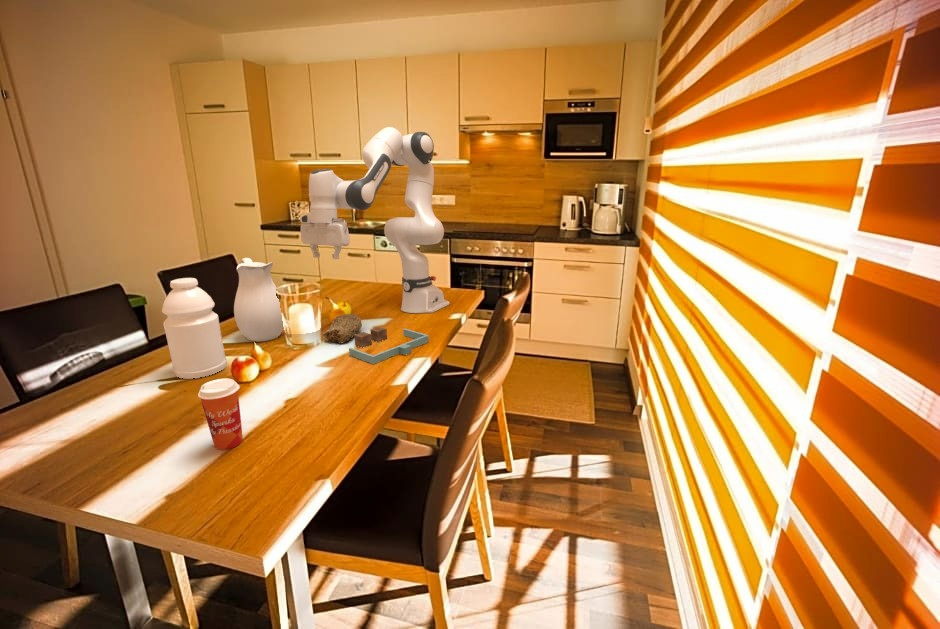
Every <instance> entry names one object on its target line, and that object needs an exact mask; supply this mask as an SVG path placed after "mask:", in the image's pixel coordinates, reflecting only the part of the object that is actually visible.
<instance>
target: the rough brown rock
mask: <svg viewBox="0 0 940 629" xmlns="http://www.w3.org/2000/svg"><path fill="white" fill-rule="evenodd" d="M361 329H362V318H361V317H360V316H358V315H357V314H355V313H348V314H341V315H338V316H336V317H334V319H333V320H332V322H330V327H329V328H328V329H327V330H326V331H325V332H323V334H322V336H323V337H324V339H326V340H327V341H328V342H329V341H330V342H332V343H338V344H340V343H341V344H343V343H346V342H347V341H349V340H350V339H352V338H353V337H354V335H355V334H358V333H360V331H361Z"/></svg>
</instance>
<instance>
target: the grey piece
mask: <svg viewBox="0 0 940 629" xmlns="http://www.w3.org/2000/svg"><path fill="white" fill-rule="evenodd" d="M402 330H403V331H402V332H403V334H402V335H403V337H406V336H407V337H406V338H410V337H411V338H410V339H412V340H410V341H408V342H405V343H402V344H400V345H397V346H394V347H392V348H389V349H386V350H384V351H381V352H379V353H376V354H373V355H372V354H371V353H368V352H366V351H365V352H364V351H361V350H358V349H356V348H354V347H349V348H348V353H349V354H348V355H349V357H352V356H353V357H352V358H355V357H356V358H355V359H358V360H360V359H361V360H360V361H363V362H365V363H368V362H369V363H368V364H371V365H376V364H378V363H381V362H383V361H386V360H388V359H390V358H389V357H391V356H393V357H395V356H394V355H396V354H398V355H401V354H403V355H402V356H404V355H406V354H408V355H410V354H412V350H413V349H415V348H418V347H421V346H423V345H424V344H427V343H429V342H430V341H429V339H430V338H429V336H430V335H428V334H425V333H421V332H417V331H414V330H412V329H408V328H403V329H402ZM413 338H414V339H413ZM422 344H423V345H422ZM417 346H418V347H417ZM414 347H415V348H414ZM412 348H413V349H412ZM399 353H400V354H399ZM409 353H410V354H409ZM396 356H397V355H396ZM406 356H407V355H406ZM387 358H388V359H387ZM391 358H392V357H391ZM385 359H386V360H385ZM382 360H383V361H382ZM380 361H381V362H380ZM377 362H378V363H377ZM375 363H376V364H375Z"/></svg>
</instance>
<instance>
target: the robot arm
mask: <svg viewBox="0 0 940 629" xmlns="http://www.w3.org/2000/svg"><path fill="white" fill-rule="evenodd" d="M434 147H435V145H434V141H433V138H432V137H431V135H430V134H429V133H427V132H425V131H416V132H413V133H410V134H405V135H403V136H402V133H401V132H400V131H399V130H398V129H397V128H395V127H392V126H387V127H384V128H383V129H380V131H378V132H376V134H374V135H373V136H372V137H371V138H370V140H368V142H367V143H366V144H365V145H364V147H363V149H362V151H361V155H362V157H361V158H362V161H363V162H364V164H365V166H366V167H367V168H368V171H367V172H366V174H365V175H364V176H363V177H362V178H359V179H354V180H344V179H342V178H340V177H339V176H338V175H337V174H335V173H334V170H333V169H331V168H325V169H324V168H323V169H322V168H321V169H316V170H315V169H314V170H313V171H311V172H310V173H309V177H308V196H309V200H310V206H309V212H307V213H306V214H303V215H301V216H300V217H299V222H300V223H301V224H300V238H301V242H302V243H303V245H309V248H310V250H311V251H312V256H313V258H320V255H321V252H319V251H318V249H317V248H318V246H333V249H334V252H333V253H332V254H331V258H332V260H340V253H341V251H342V247H348V246H350V243H351V242H350V240H351V239H350V233H349V232H350V231H349V229H348V223H347V221H346V220H345V219H344V218H338V209H346V210H348V209H350V210H358V211H365V210H369V208H371V207H372V205H373V203H374V202H375V201H374V200H376V194H377V193H378V191H379V189H380V188H381V187H382V186H381V185H382V184H383V183H384V181H385V179H386V178H387V176H388V174H389V173H390V170H391V169H392V165H393V166H396V167H404V166H407V167H408V176H407V182H406V187H405V194H404V202H405V205H406V206H407V207H408V208H409V209H411V210H412V211H414V216H413V217H411V216H410V217H405V216H404V217H402V216H401V217H399V216H398V217H394V218H393V217H392V218H389V219H388V220H387V221H386V222H385V225H384V230H383V234H384V236H385V238H386V240H387V241H388V242H389V243H391V244H392V245H393V246H394V248H395V249H396V250H397V252H398V254H399V258H400V261H401V268H402V269H401V270H402V277H401V285H402V298H401V300H402V301H401V307H400V310H401V311H402V312H405V313H411V314H421V313H435V312H437V311H438V310H441V309H443V308H445V307H447V306H449V305H450V301H448V300H446V299H445V296H444V292H443V291H442V289H440V288H439V287H437V286H436V285H434V284H433V282H435V281H437V276H435V275H430V272H429V271H430V270H429V269H430V268H429V266H430V264H429V259H428V257H427V256H426V255H425V254H424V253H422V252H421V251H420V250H419V249H418V247H417V245H419V246H421V245H423V246H424V245H425V246H429V245H435V244H439V243H440V242H442V240H443V239H444V235H445V228H444V226H443V224H442V222H441V220H440V219H438V218H437V217H436V215H435V213H434V210H433V192H434V185H435V170H434V165H433V164H432V163H431V161H432V160H433V156H434V150H435V149H434ZM432 281H433V282H432Z"/></svg>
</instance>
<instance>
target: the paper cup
mask: <svg viewBox="0 0 940 629" xmlns="http://www.w3.org/2000/svg"><path fill="white" fill-rule="evenodd" d="M240 388H241V387H240V384H238V382H236V381H235V380H234V379H232V378H217V379H214V380H210V381H207V382H205V383H204V384H202V385H201V387H200V389H199V392H198V398H200V401H201V405H202V409H203V412H204V415H205V419H206V422H207V425H208V429H209V433H210V436H211V439H212V443H213V446H214V448H215V449H216V450H219V451H226V450H231V449H234V448H236V447H238V446H239V445H241V444H242V442H243V441H244V440H243V428H242V427H243V426H242V425H243V424H242V418H241V417H242V416H241V410H240V400H239V389H240Z"/></svg>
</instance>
